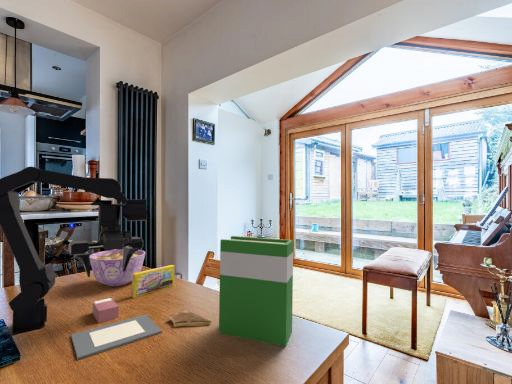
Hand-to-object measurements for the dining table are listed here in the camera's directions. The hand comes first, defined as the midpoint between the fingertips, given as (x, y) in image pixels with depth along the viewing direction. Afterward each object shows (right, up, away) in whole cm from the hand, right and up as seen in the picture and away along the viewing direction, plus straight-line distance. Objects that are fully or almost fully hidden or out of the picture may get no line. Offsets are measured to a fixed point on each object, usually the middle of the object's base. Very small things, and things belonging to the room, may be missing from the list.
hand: (106, 274), depth 78 cm
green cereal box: (+44, -13, -9) cm, 46 cm away
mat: (+9, -12, -11) cm, 18 cm away
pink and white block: (0, -12, -1) cm, 12 cm away
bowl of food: (-11, -12, +28) cm, 33 cm away
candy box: (+6, -13, +19) cm, 24 cm away
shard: (+25, -13, -3) cm, 28 cm away
